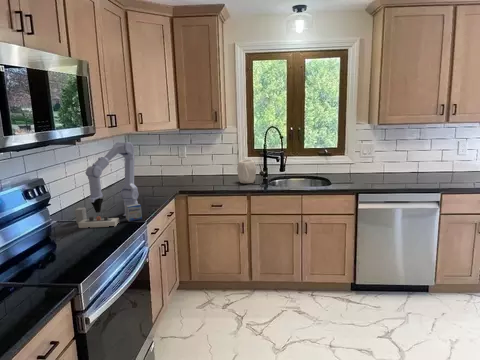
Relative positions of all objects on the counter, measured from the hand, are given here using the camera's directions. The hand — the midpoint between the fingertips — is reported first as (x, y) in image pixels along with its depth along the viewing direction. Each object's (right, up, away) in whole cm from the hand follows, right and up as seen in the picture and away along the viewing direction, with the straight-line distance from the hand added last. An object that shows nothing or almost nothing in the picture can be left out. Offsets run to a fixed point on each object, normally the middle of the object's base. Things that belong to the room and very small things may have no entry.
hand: (98, 212), depth 207 cm
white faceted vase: (+84, +15, +109) cm, 138 cm away
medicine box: (+17, -5, +10) cm, 21 cm away
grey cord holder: (-13, -7, +9) cm, 17 cm away
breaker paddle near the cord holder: (-4, -5, +1) cm, 6 cm away
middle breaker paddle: (0, -4, +1) cm, 5 cm away
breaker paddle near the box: (+4, -4, +1) cm, 6 cm away
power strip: (0, -7, +1) cm, 7 cm away
